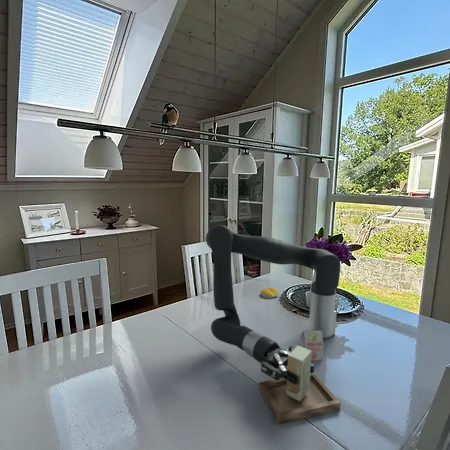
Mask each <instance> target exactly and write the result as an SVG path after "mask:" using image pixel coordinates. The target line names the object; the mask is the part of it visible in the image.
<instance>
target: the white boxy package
mask: <svg viewBox="0 0 450 450" xmlns="http://www.w3.org/2000/svg"><path fill="white" fill-rule="evenodd" d="M299 346H301V347H304V348H306V349H309V350H311V351H312V354H311V362H323V361H324V360H323V359H324V358H323V357H324V338H323V334H322V331H309V330H303V331H302V332H301V336H300V340H299Z"/></svg>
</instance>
